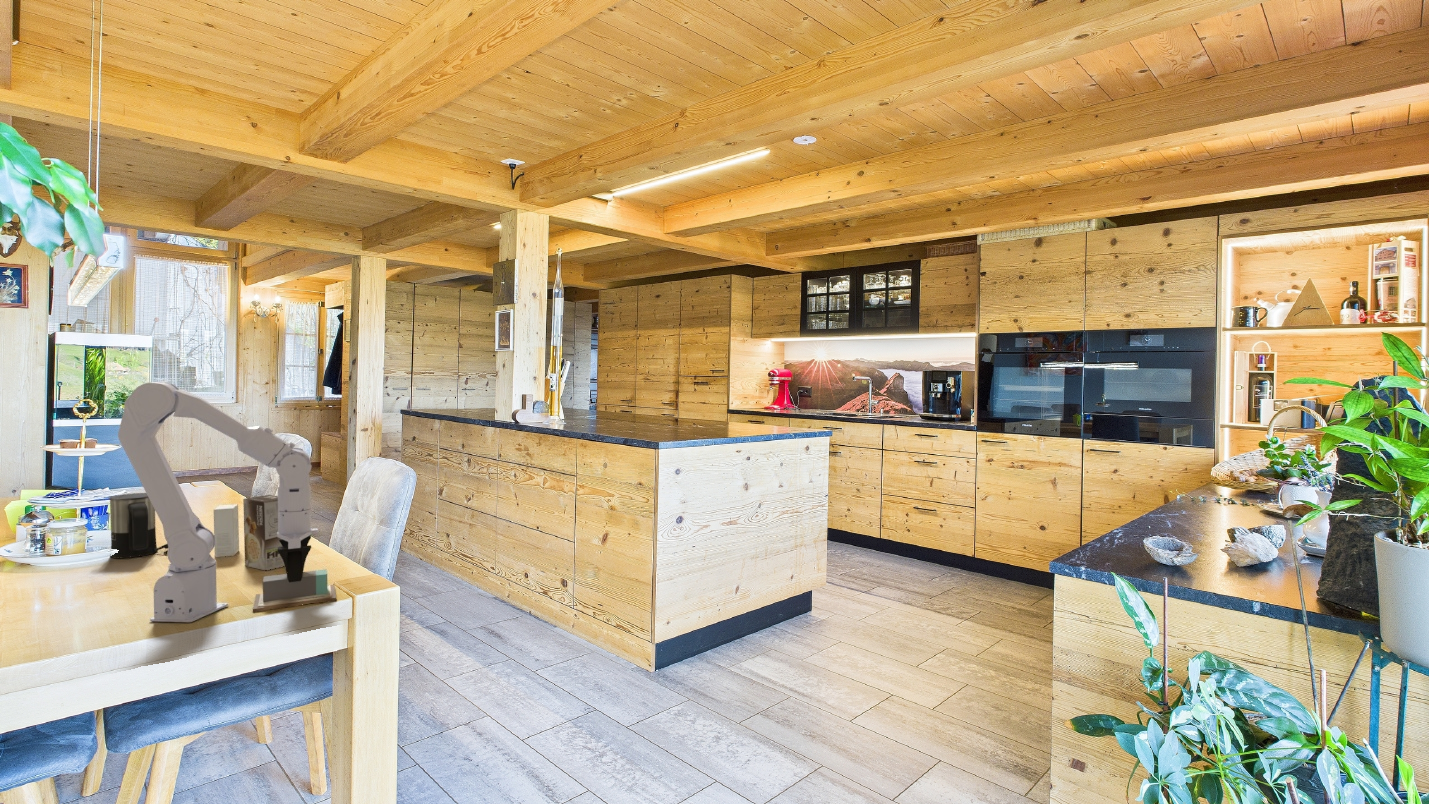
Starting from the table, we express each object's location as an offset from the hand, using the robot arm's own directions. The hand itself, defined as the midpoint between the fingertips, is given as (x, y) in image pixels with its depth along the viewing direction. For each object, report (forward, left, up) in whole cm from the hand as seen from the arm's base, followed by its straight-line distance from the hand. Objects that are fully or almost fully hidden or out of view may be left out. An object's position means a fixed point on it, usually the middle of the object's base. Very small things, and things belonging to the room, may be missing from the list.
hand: (295, 576), depth 140 cm
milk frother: (+32, +58, -5) cm, 66 cm away
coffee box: (+23, +22, -5) cm, 32 cm away
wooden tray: (0, 0, -5) cm, 5 cm away
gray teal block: (0, 0, -4) cm, 4 cm away
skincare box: (+32, +39, -5) cm, 51 cm away
